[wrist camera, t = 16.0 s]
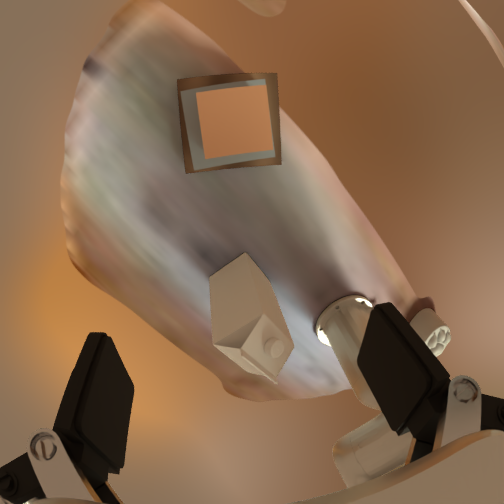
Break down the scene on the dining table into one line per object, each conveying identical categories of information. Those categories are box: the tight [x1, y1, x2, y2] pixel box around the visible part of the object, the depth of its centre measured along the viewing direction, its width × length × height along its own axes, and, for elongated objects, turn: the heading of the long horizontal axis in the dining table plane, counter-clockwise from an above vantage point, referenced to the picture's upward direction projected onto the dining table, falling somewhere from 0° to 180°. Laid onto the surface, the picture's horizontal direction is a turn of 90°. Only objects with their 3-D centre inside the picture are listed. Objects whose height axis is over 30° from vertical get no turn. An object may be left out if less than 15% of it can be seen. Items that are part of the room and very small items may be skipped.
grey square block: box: [180, 79, 275, 171], centre depth 29 cm, size 9×9×4 cm
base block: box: [177, 73, 282, 174], centre depth 32 cm, size 12×12×4 cm
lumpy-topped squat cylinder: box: [410, 308, 451, 356], centre depth 56 cm, size 10×13×9 cm
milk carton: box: [209, 252, 294, 385], centre depth 36 cm, size 7×7×19 cm
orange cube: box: [196, 85, 273, 159], centre depth 24 cm, size 6×6×6 cm
